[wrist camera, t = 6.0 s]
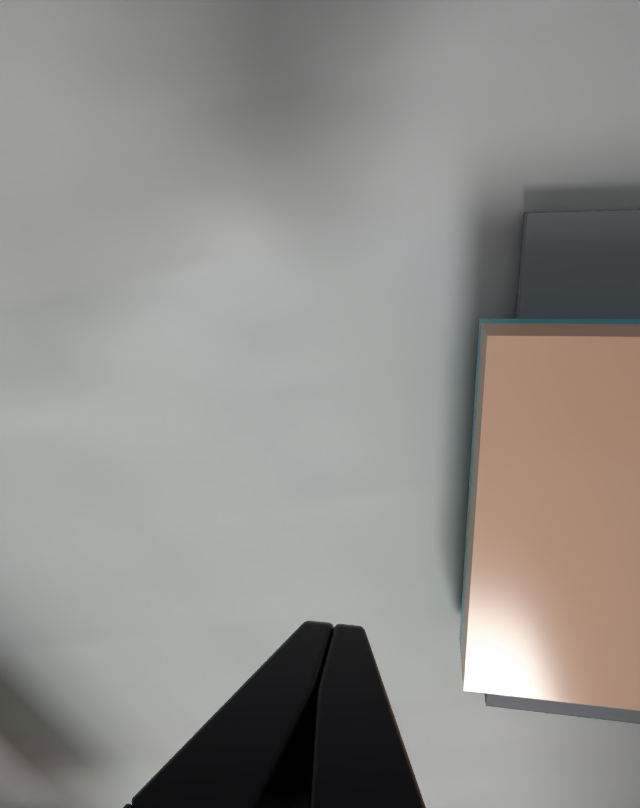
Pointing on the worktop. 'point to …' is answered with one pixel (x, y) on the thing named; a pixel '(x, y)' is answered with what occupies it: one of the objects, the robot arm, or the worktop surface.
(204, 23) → the worktop surface
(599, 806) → the worktop surface
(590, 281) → the mat
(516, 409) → the tile
